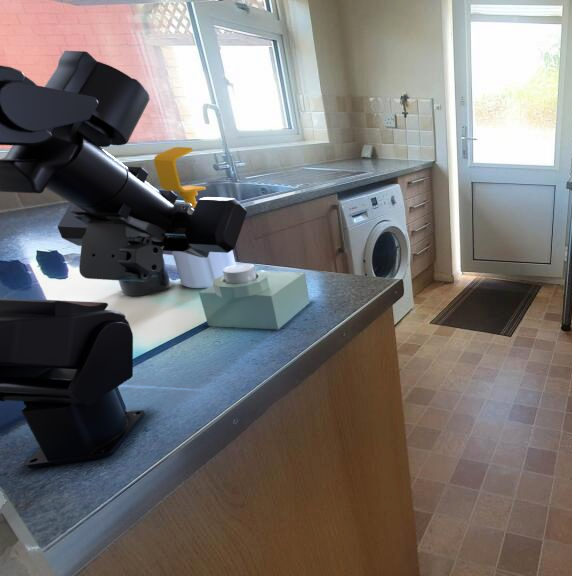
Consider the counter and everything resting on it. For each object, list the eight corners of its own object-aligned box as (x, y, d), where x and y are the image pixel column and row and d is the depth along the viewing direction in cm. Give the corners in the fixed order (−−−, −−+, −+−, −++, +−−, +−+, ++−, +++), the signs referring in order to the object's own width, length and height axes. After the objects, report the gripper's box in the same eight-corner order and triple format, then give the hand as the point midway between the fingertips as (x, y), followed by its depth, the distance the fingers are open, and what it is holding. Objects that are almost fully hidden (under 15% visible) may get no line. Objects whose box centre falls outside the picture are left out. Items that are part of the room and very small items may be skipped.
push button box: (273, 334, 62) (263, 288, 59) (201, 330, 62) (187, 284, 59) (310, 302, 72) (303, 262, 69) (248, 299, 72) (239, 259, 69)
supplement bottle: (144, 298, 71) (121, 231, 66) (112, 294, 72) (88, 228, 68) (181, 284, 77) (162, 222, 73) (151, 280, 78) (131, 219, 74)
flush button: (246, 286, 60) (243, 273, 59) (219, 285, 60) (216, 272, 60) (262, 276, 64) (259, 264, 63) (237, 275, 64) (234, 263, 63)
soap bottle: (249, 275, 83) (220, 147, 73) (208, 291, 75) (170, 151, 65) (213, 269, 85) (181, 145, 75) (169, 285, 77) (127, 147, 67)
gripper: (-41, 250, 37) (112, 307, 52) (158, 259, 37) (257, 314, 52) (20, 153, 42) (146, 231, 56) (200, 161, 41) (280, 237, 56)
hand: (205, 254), depth 55 cm, fingers closed
